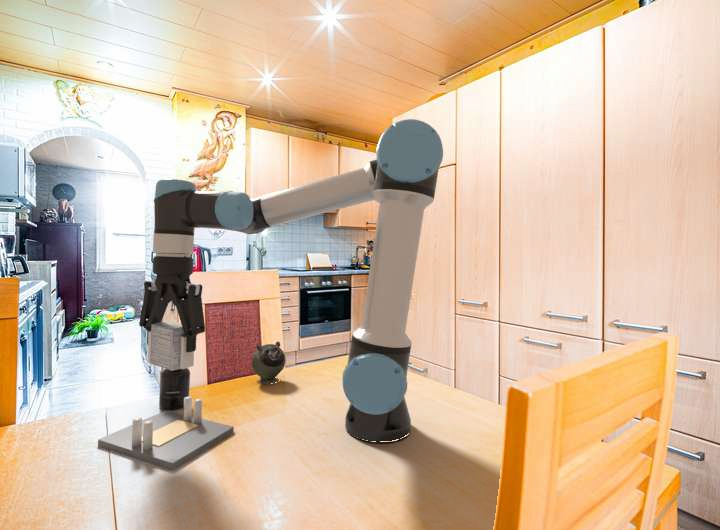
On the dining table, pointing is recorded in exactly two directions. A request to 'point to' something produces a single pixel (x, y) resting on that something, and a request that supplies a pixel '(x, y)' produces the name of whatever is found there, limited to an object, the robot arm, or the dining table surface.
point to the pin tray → (168, 436)
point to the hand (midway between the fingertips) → (170, 363)
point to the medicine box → (166, 344)
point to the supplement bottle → (174, 388)
